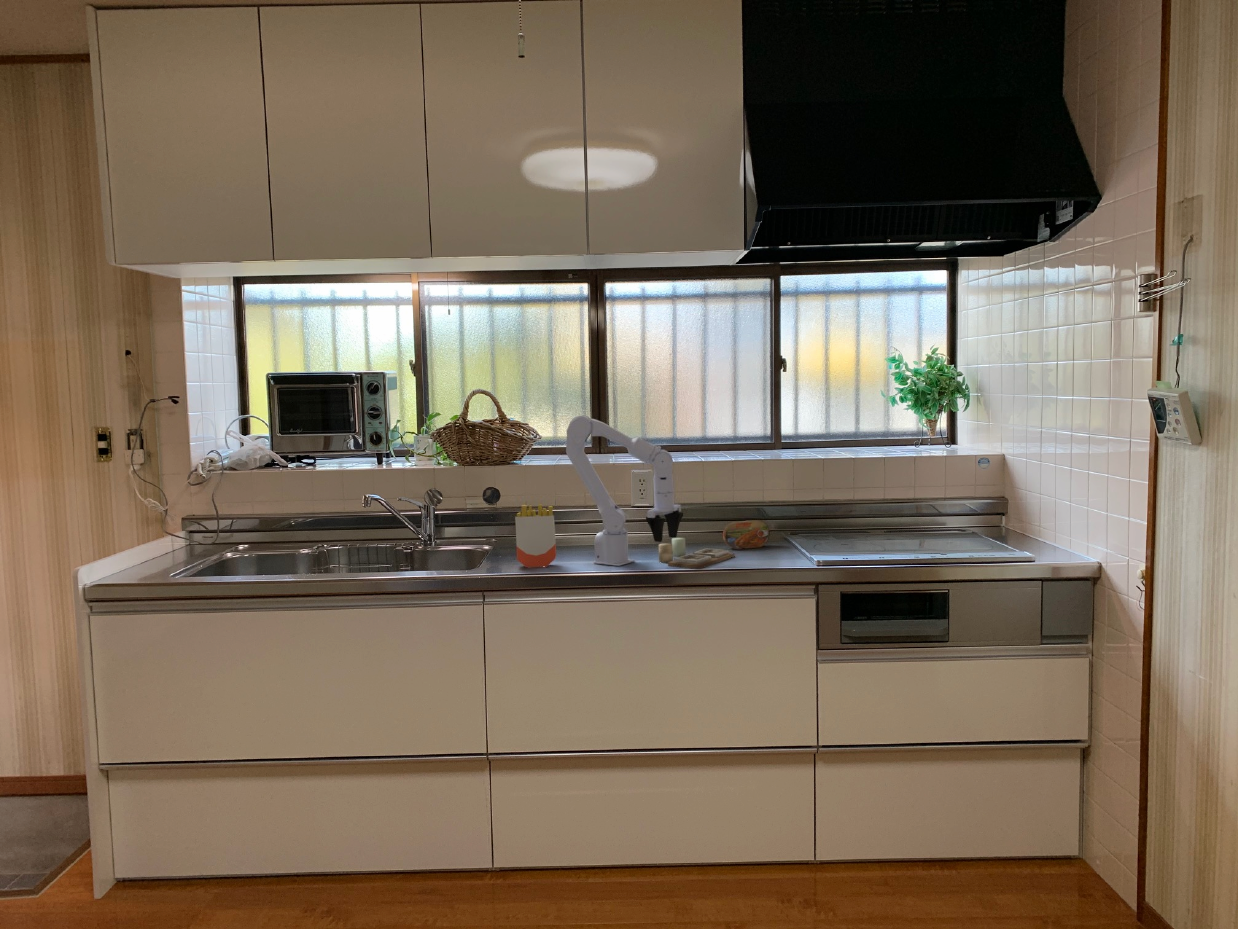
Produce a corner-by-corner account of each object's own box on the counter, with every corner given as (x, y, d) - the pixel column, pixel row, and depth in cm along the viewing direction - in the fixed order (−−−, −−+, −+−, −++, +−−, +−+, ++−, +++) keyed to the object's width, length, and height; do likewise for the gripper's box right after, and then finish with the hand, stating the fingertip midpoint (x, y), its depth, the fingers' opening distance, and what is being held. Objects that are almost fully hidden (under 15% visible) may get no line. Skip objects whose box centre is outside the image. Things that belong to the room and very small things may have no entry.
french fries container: (519, 565, 243) (516, 504, 241) (556, 564, 243) (554, 502, 241) (517, 568, 238) (514, 506, 237) (555, 567, 238) (552, 504, 237)
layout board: (668, 565, 234) (667, 558, 233) (704, 554, 250) (704, 547, 249) (698, 569, 228) (698, 561, 228) (734, 556, 244) (734, 549, 243)
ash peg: (656, 562, 240) (655, 545, 239) (664, 560, 243) (663, 543, 242) (668, 563, 237) (667, 546, 237) (675, 561, 240) (675, 544, 240)
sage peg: (669, 555, 249) (669, 539, 248) (676, 553, 252) (676, 537, 252) (681, 557, 246) (680, 540, 246) (688, 554, 250) (687, 538, 249)
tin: (725, 550, 254) (725, 523, 254) (721, 548, 258) (721, 521, 257) (770, 546, 258) (770, 519, 258) (766, 544, 261) (765, 518, 261)
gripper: (661, 495, 230) (663, 544, 231) (689, 490, 242) (690, 536, 243) (640, 495, 235) (642, 542, 236) (668, 489, 246) (670, 534, 247)
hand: (665, 539), depth 240 cm, fingers open, 7 cm apart
